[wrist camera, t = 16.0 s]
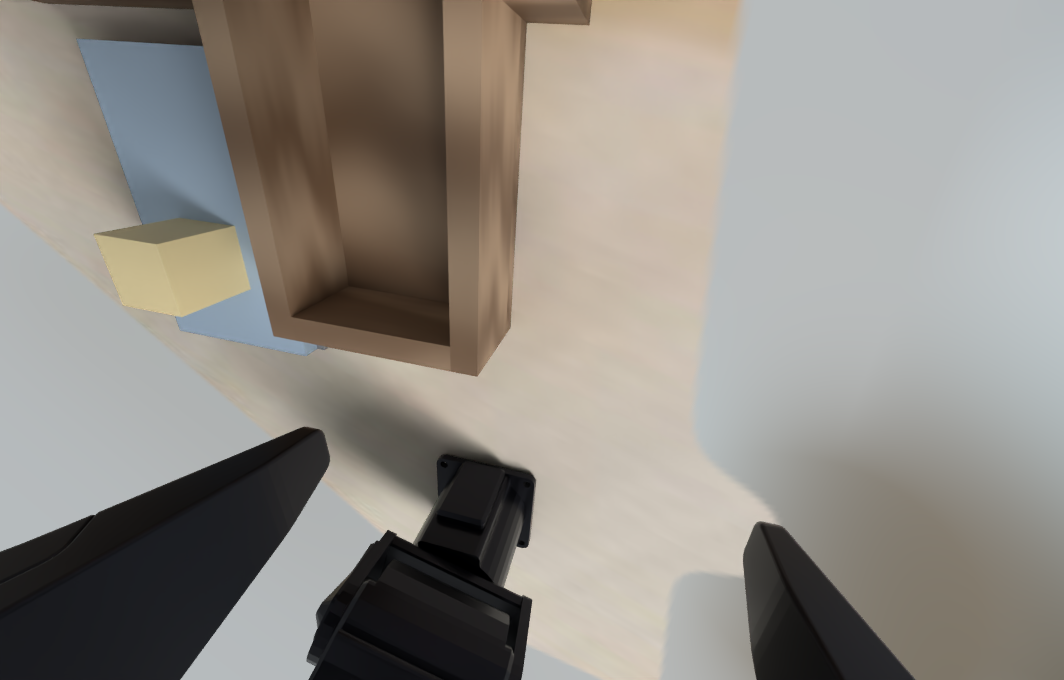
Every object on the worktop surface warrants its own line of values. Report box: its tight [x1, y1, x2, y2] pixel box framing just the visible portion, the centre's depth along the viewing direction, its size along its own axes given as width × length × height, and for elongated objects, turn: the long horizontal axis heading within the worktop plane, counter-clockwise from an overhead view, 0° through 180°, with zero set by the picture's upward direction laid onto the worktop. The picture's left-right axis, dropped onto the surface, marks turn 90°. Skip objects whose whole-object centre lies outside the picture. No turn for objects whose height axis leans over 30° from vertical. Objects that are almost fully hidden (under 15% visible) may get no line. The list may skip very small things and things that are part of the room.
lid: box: [76, 39, 317, 356], centre depth 21 cm, size 15×9×5 cm, turn 176°
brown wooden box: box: [32, 0, 592, 376], centre depth 17 cm, size 17×26×7 cm, turn 86°
